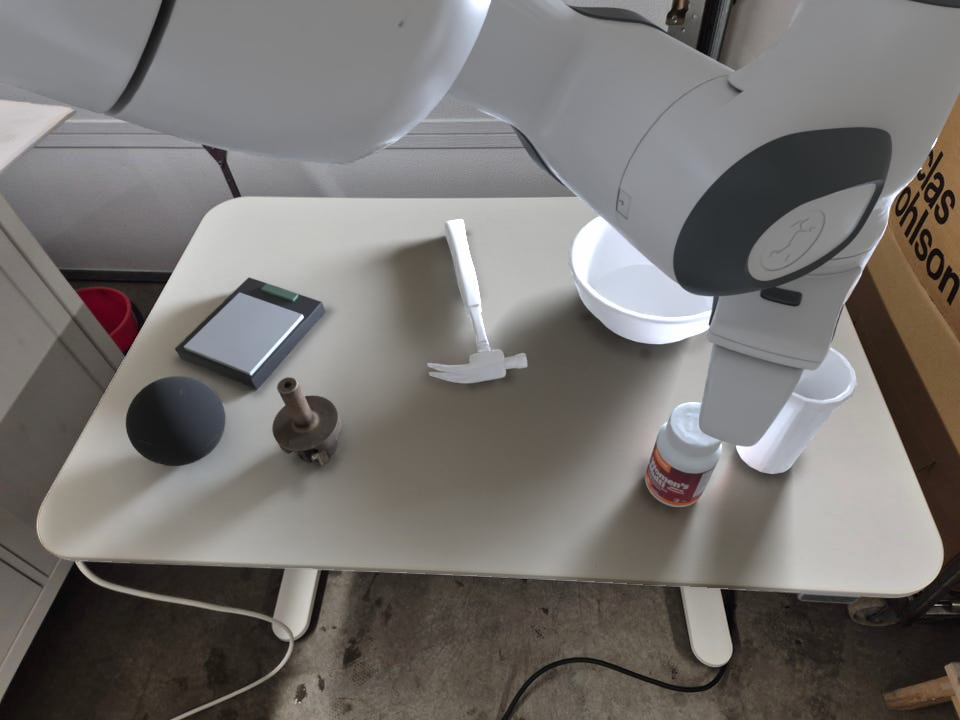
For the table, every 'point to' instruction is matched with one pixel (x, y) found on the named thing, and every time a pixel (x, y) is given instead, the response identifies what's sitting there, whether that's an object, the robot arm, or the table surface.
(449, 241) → the hammer
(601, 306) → the bowl
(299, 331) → the scale
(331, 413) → the industrial component
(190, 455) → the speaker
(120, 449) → the table surface
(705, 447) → the pill bottle
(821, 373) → the cup
